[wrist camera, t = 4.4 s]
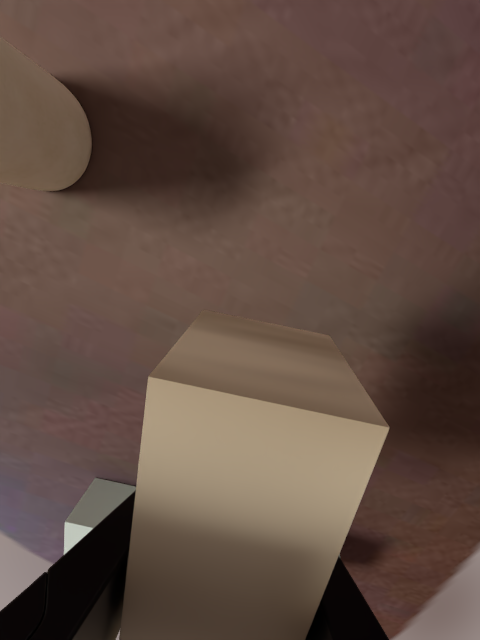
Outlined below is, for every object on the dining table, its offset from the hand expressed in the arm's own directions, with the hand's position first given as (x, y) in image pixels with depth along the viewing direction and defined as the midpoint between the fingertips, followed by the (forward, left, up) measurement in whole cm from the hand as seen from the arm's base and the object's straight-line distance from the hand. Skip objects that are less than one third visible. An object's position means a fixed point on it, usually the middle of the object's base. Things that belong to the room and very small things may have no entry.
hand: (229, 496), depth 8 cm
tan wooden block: (0, 0, -1) cm, 1 cm away
